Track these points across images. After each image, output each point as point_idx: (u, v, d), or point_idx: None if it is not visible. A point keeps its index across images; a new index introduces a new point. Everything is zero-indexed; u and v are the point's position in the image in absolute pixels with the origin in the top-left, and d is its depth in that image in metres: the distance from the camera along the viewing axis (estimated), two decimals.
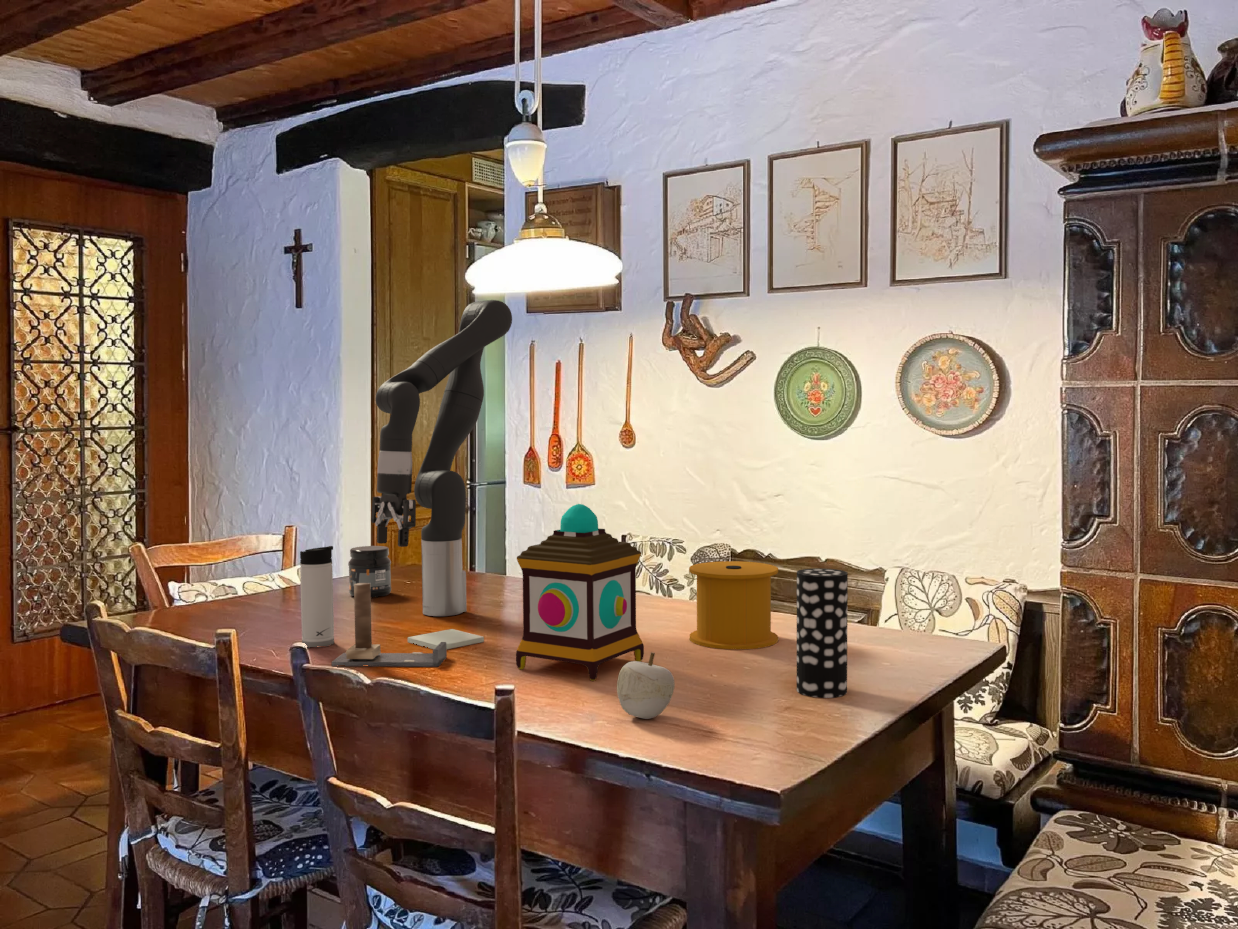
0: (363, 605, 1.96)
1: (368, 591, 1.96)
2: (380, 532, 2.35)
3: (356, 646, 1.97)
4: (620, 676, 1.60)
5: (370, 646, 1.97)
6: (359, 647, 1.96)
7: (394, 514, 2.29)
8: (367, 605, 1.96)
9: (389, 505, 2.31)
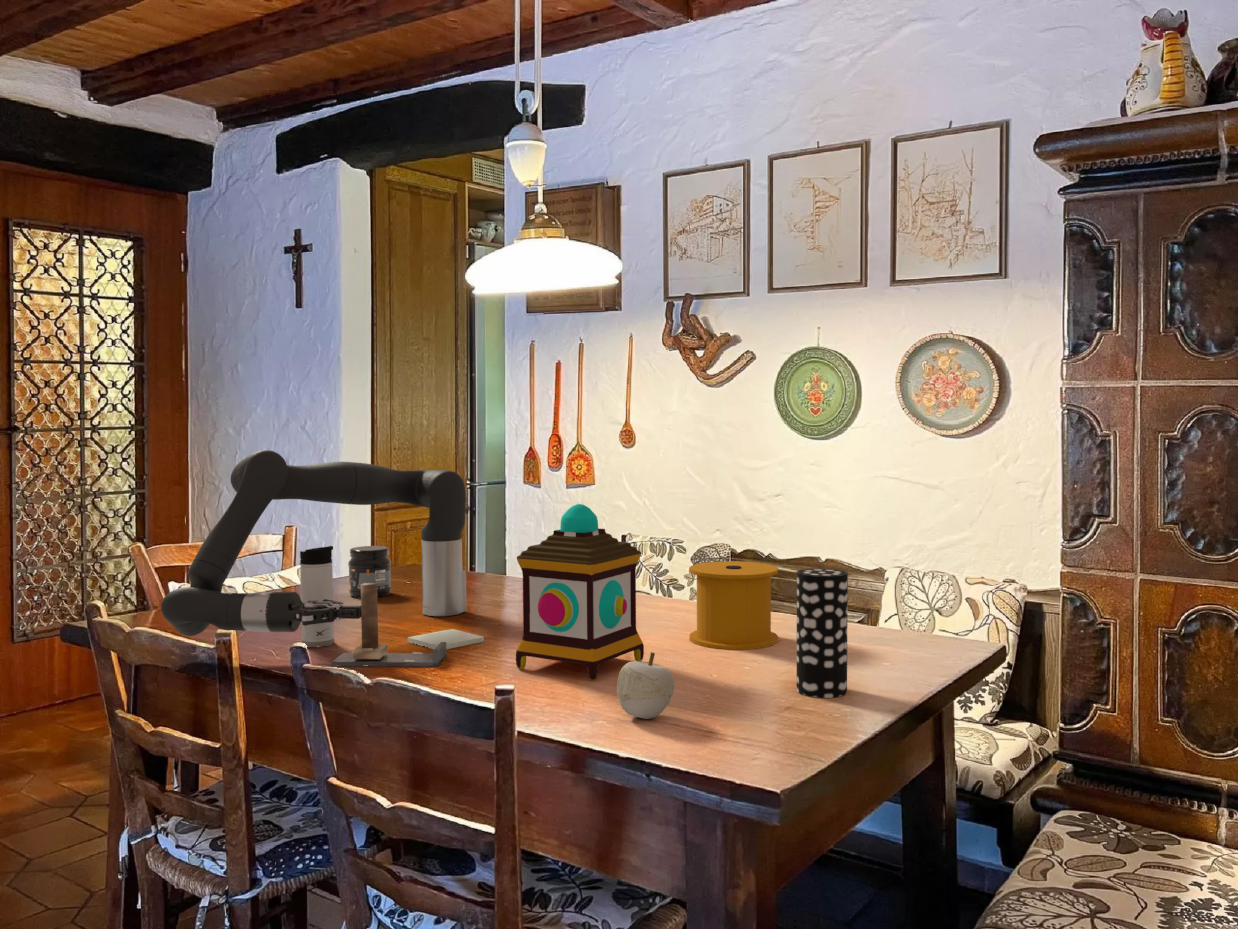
0: (370, 605, 1.96)
1: (375, 591, 1.96)
2: None
3: (363, 646, 1.97)
4: (620, 676, 1.60)
5: (377, 646, 1.97)
6: (366, 647, 1.96)
7: None
8: (373, 605, 1.96)
9: None
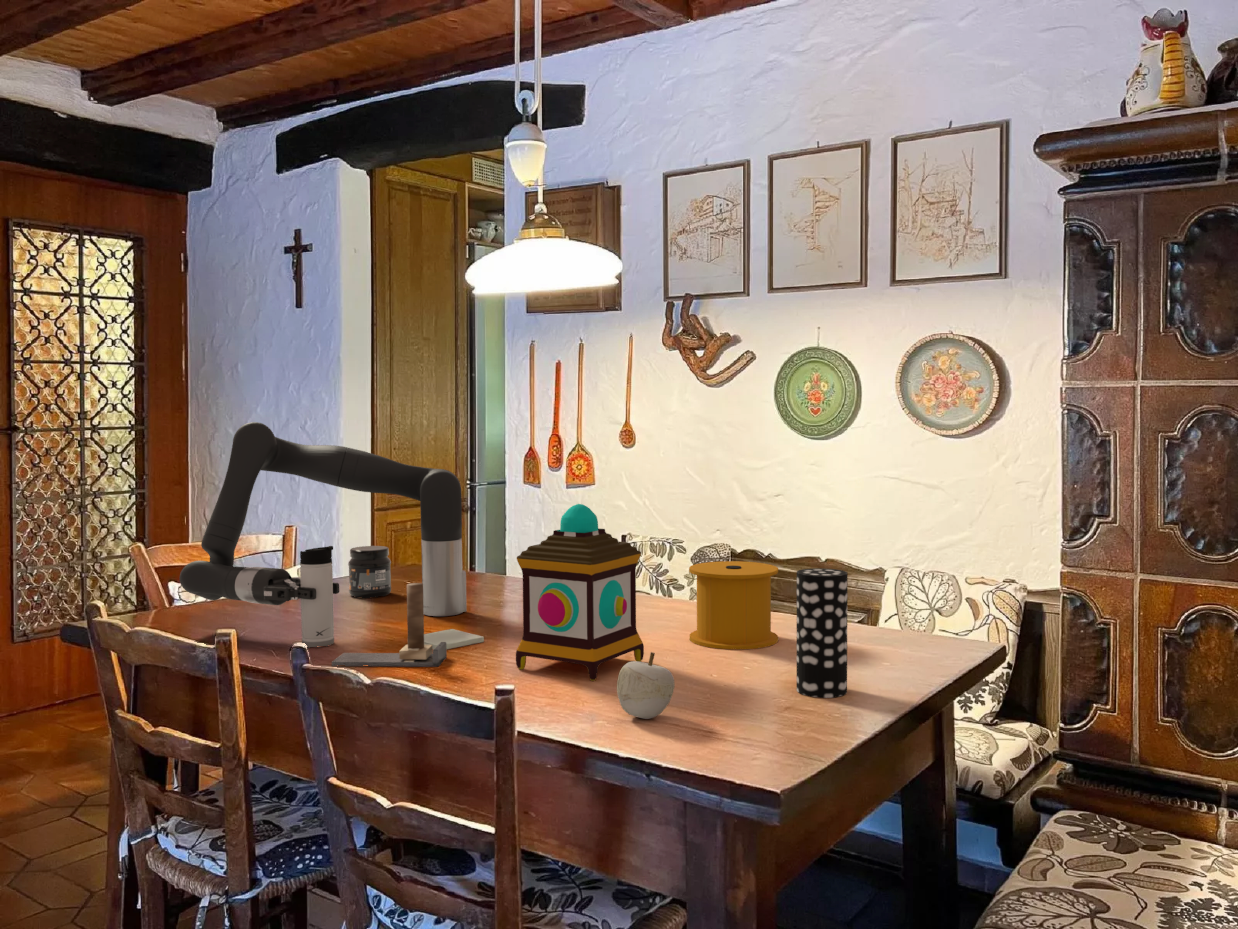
0: (416, 605, 1.95)
1: (421, 591, 1.96)
2: None
3: (409, 646, 1.96)
4: (620, 676, 1.60)
5: (423, 646, 1.97)
6: (412, 647, 1.96)
7: None
8: (420, 605, 1.96)
9: None
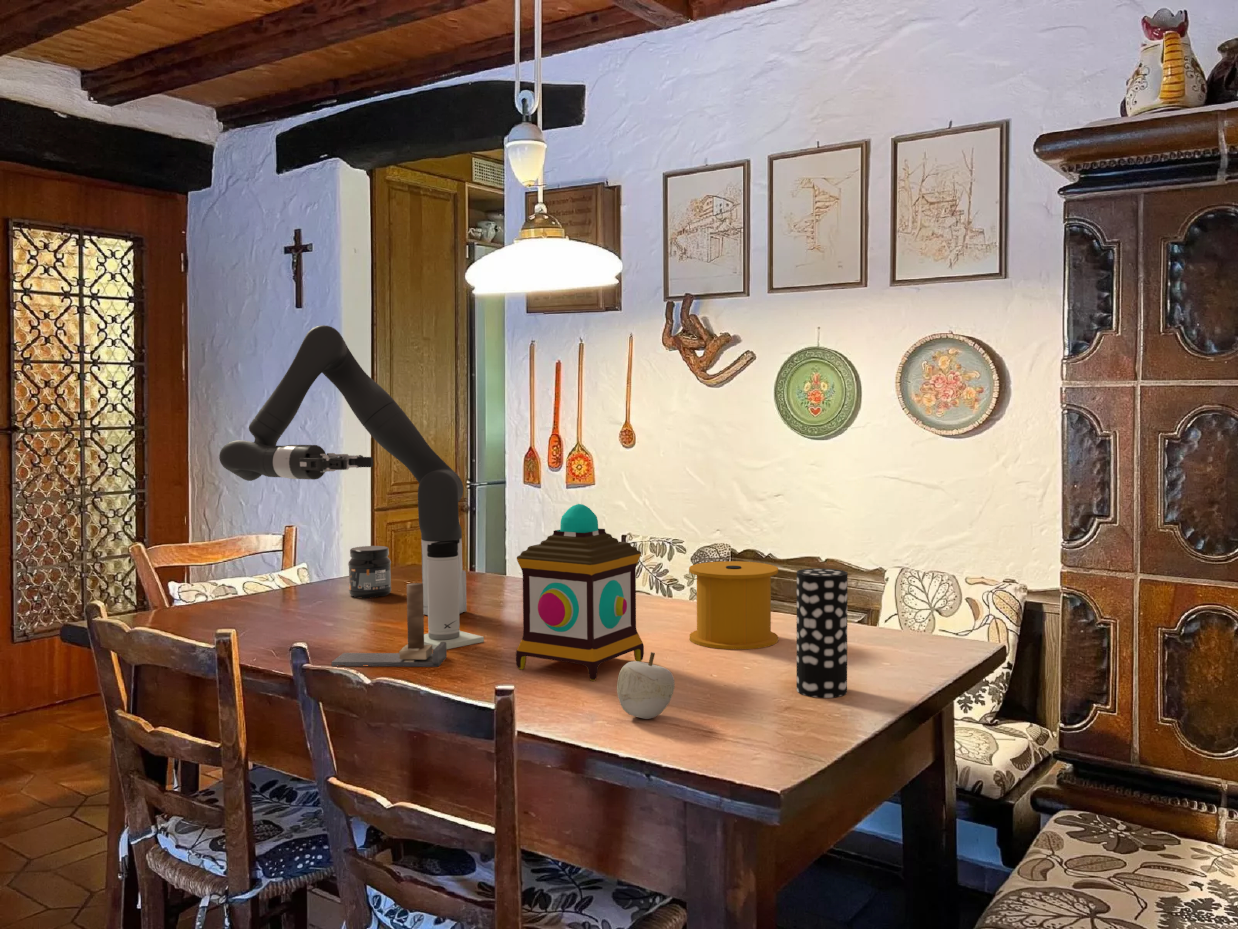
0: (416, 605, 1.95)
1: (421, 591, 1.96)
2: (362, 465, 2.27)
3: (409, 646, 1.96)
4: (620, 676, 1.60)
5: (423, 646, 1.97)
6: (412, 647, 1.96)
7: None
8: (420, 605, 1.96)
9: None
